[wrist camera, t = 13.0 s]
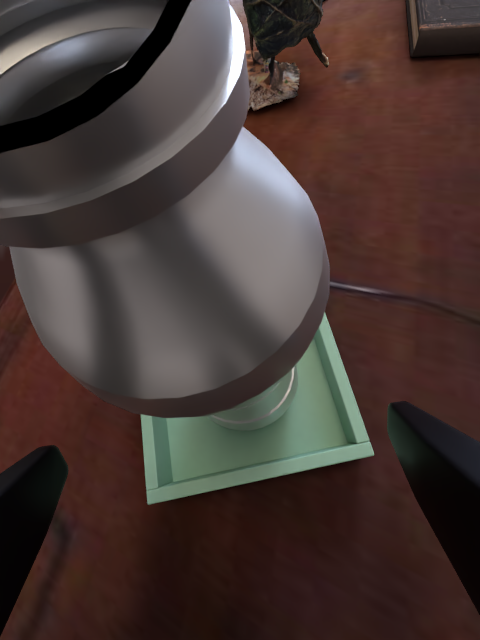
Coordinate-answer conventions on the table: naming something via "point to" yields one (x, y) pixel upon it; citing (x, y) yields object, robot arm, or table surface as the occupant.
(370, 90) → the table surface
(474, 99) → the table surface
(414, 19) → the hardcover book
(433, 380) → the table surface
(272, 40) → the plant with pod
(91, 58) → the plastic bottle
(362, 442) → the bin
